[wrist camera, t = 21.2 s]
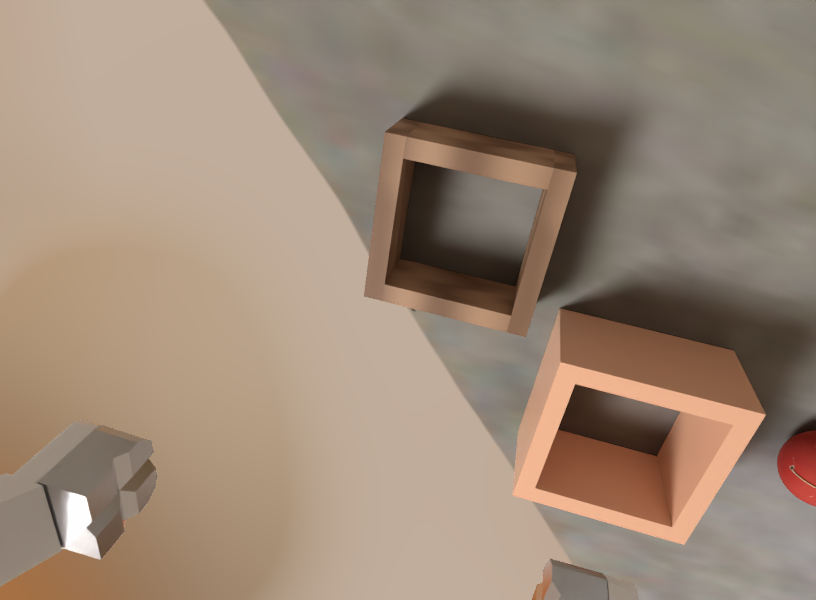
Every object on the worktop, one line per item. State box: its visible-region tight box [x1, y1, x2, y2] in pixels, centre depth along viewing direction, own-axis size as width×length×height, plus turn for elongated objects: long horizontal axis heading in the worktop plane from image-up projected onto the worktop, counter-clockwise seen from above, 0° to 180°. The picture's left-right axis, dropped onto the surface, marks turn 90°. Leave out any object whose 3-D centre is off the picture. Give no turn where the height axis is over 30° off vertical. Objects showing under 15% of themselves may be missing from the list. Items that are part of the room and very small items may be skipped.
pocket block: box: [364, 118, 577, 337], centre depth 42 cm, size 13×13×5 cm
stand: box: [513, 308, 766, 545], centre depth 46 cm, size 14×14×8 cm
